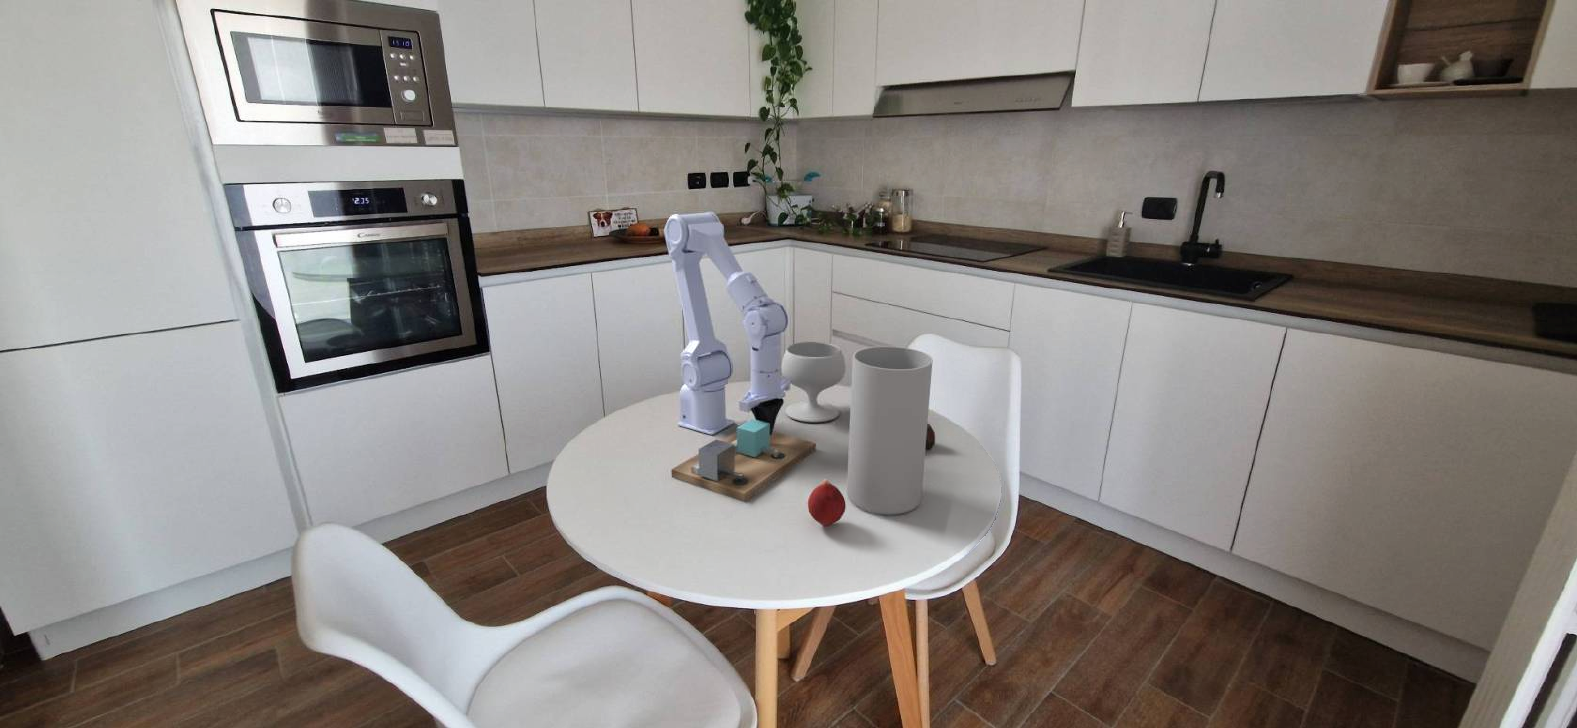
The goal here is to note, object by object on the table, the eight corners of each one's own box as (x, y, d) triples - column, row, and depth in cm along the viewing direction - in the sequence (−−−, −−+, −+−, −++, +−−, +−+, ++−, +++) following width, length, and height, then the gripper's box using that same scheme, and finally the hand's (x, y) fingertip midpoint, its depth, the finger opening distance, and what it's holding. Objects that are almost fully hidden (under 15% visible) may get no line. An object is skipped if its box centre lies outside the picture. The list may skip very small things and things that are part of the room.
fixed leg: (699, 475, 116) (698, 449, 115) (716, 464, 120) (716, 439, 119) (733, 486, 112) (733, 459, 111) (751, 475, 117) (750, 449, 115)
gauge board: (671, 476, 119) (671, 463, 119) (749, 431, 139) (748, 419, 138) (744, 501, 111) (744, 487, 111) (815, 449, 131) (816, 437, 130)
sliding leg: (737, 452, 125) (736, 427, 124) (752, 442, 129) (752, 418, 128) (770, 461, 122) (770, 436, 120) (785, 451, 126) (785, 427, 124)
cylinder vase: (878, 524, 105) (887, 375, 97) (832, 491, 115) (837, 353, 107) (936, 504, 111) (949, 362, 104) (887, 474, 121) (896, 342, 114)
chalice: (794, 429, 140) (795, 361, 135) (772, 406, 152) (772, 343, 148) (854, 420, 145) (857, 355, 140) (827, 399, 157) (829, 337, 153)
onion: (848, 519, 106) (850, 474, 104) (839, 538, 101) (840, 491, 99) (813, 513, 108) (814, 468, 106) (802, 531, 103) (803, 485, 101)
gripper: (761, 382, 117) (761, 453, 121) (803, 361, 129) (802, 426, 133) (729, 375, 121) (730, 444, 125) (773, 355, 132) (773, 419, 137)
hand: (765, 434), depth 129 cm, fingers closed
